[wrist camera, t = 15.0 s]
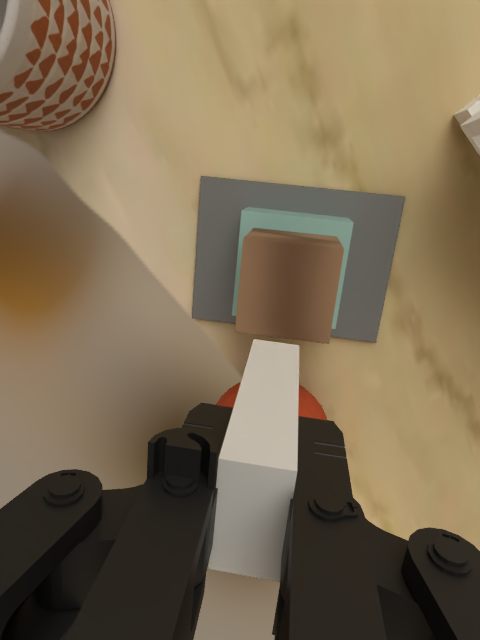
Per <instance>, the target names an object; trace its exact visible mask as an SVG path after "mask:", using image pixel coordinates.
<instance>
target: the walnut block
mask: <svg viewBox="0 0 480 640" xmlns="http://www.w3.org/2000/svg"><path fill="white" fill-rule="evenodd" d="M343 254H344V248H343V246H342V244H341V243H340V241H339V239H338V237H337V236H328V235H319V234H309V233H300V232H290V231H281V230H271V229H262V228H253V229H252V230H251V231H250V232H249V233H248V234H247V235H246V236H245V237H244V238H243V247H242V259H241V270H240V281H239V292H238V303H237V314H236V326H235V332H241V333H248V334H256V335H264V336H272V337H279V338H287V339H295V340H303V341H311V342H318V343H326V344H329V340H330V334H331V328H332V322H333V316H334V309H335V303H336V297H337V291H338V285H339V278H340V272H341V266H342V260H343Z"/></svg>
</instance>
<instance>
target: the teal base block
mask: <svg viewBox="0 0 480 640" xmlns="http://www.w3.org/2000/svg"><path fill="white" fill-rule="evenodd" d="M353 224H354V222H353V221H351V220H350V219H349V218H346V217H337V216H328V215H318V214H309V213H300V212H290V211H281V210H272V209H262V208H253V207H247V208H245V209H243V210H242V211H241V222H240V233H239V243H238V254H237V265H236V276H235V286H234V297H233V308H232V316H236V314H237V303H238V292H239V281H240V270H241V259H242V247H243V238H244V237H245V236H246V235H247V234H248V233H249V232H250V231H251V230H252V229H253V228H262V229H271V230H281V231H290V232H300V233H309V234H319V235H328V236H337V237H338V239H339V241H340V243H341V244H342V246H343V248H344V254H343V260H342V266H341V272H340V278H339V285H338V291H337V297H336V303H335V309H334V316H333V322H332V328H331V329H336V323H337V317H338V311H339V305H340V299H341V294H342V288H343V282H344V276H345V270H346V264H347V259H348V253H349V247H350V241H351V235H352V229H353Z"/></svg>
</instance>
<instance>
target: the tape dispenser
mask: <svg viewBox="0 0 480 640" xmlns="http://www.w3.org/2000/svg"><path fill="white" fill-rule="evenodd" d="M454 117H455V118H456V120H457V121H458V123H459V124H460V127H461V129H462V130H463V132H464V133H465V135H466V136H467V138H468V139H469V141H470V142H471V144H472V145H473V147H474V148H475V150H476V151H477V153H478V154H479V156H480V95H479V96H477V97H476V98H475V99H473V100H472V101H471V102H470V103H468V104H467V105H466V106H464V107H463V108H462V109H461V110H459V111H458V112H457V113H456V114H454Z"/></svg>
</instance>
